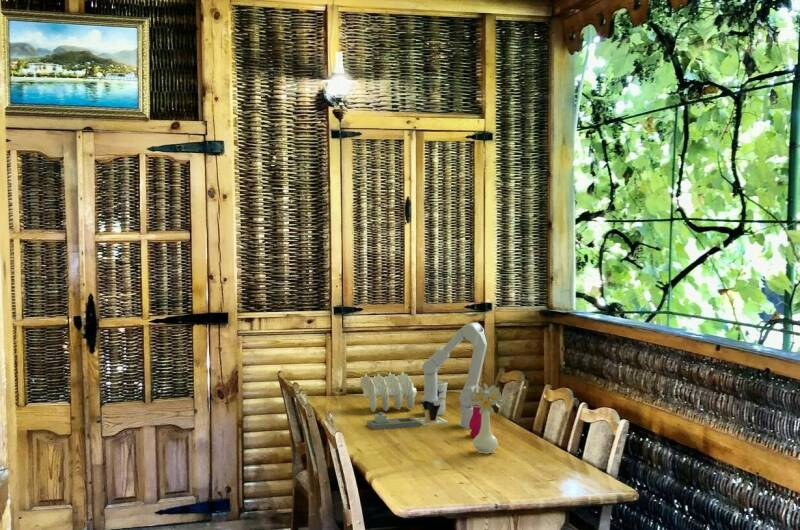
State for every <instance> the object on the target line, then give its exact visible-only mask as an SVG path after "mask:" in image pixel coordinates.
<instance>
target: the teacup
mask: <svg viewBox="0 0 800 530" xmlns="http://www.w3.org/2000/svg"><path fill="white" fill-rule="evenodd" d="M437 398H438V401H439V404H440V408H439V409H438V412H437V417H440V416H441V417H442V416H443V414H444V413H446V397H445V398H444V397H437ZM421 402H425V400H424V401H423V400H422V399H421ZM421 406H422V408H421V409H422V412H423V414H424V415H425V410H424V407H423V405H422V404H421Z"/></svg>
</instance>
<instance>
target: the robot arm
mask: <svg viewBox="0 0 800 530" xmlns="http://www.w3.org/2000/svg"><path fill="white" fill-rule="evenodd" d="M464 340H467V341H469V342H470V343H471V345H472V346H473V352H472V355H471V359H470V365H469V369H468V372H467V373H468V374H467V377H466V382H465V384H464V386H463V388H462V392H461V393H459V396H458V401H459V403H460V423H456V425H458V426H460V427H462V428H463V429H466V430H467V429H470V427H469V422H470V420H471V417H472V415H473V406H472V405H471V403H472V401H471V402H469V401H470V400H471V398H469V397H470V395H471V392H474V387H475V386H476V387H477V386H478V387H480V386H479V383H480V378H481V374H482V369H483V365H484V361H485V357H486V352H487V346H488V343H487V338H486V335H485V329H484V328H483V326H482V325H481V324H480V323H479V322H476V321H475V322H472V323H471V322H470V323H465V324H464V325H463V326H462V327H461V328H460V329H458V330H457V332H455V334H454V335H453V336H452V337H451V338H450V340H449V341H448V342H447V343H446V344H445V346H444V347H439V348H436V349H435V352H434V353H433V354H432V355H431V356H429V357H428V360H425V361H424V362H423V364H422V366H421V367H422V370H421V371H422V372H423V373H424V374H423V375H424V377H423V382H424V383H423V387H424V388H423V389H424V390H423V395H422V397H421V406H422V405H423V407H424V410H429V414H430V420H431V421H434V420H436V416H437V412H438V409H439V408H440V404H439V401H438V398H437V381H438V372H439V370H440V367H442V366H443V364H445V362H447V360H448V359H449V358H450V354H451V352H452V351H453V350H454V349H455V348H456V347H457V346H458V345H459V343H461V342H462V341H464ZM422 400H423V401H424V400H425V402H422ZM437 417H438V416H437ZM470 430H471V429H470Z"/></svg>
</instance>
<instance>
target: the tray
mask: <svg viewBox="0 0 800 530" xmlns="http://www.w3.org/2000/svg"><path fill="white" fill-rule="evenodd" d="M413 419H415V420H417V421H418V422H419V425H420V426H423V427H424V426H436V425H437V426H439V425H448V424H449V421H447V420H445V419H443V418H441V417H440V416H437V422H434V423H427V422H425V417H417V418H416V417H415V418H413Z"/></svg>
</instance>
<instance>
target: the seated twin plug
mask: <svg viewBox="0 0 800 530" xmlns="http://www.w3.org/2000/svg"><path fill="white" fill-rule="evenodd" d="M387 419H388V418H387V415H386V414H385V413H383V412H382V411H380V412H378V413H375V414H374V420H375V423H376V424H380V423H387Z"/></svg>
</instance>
